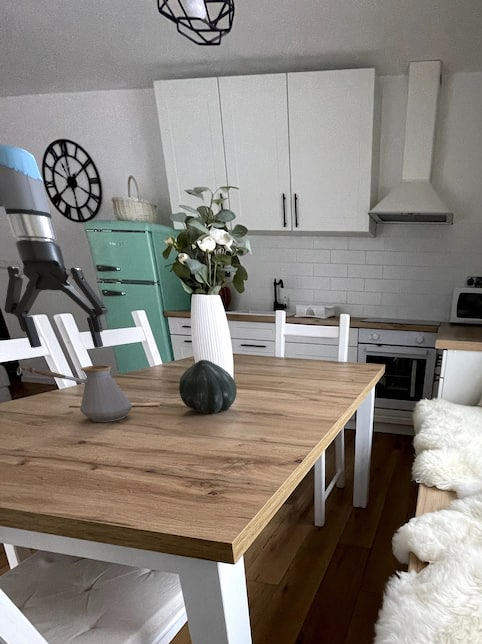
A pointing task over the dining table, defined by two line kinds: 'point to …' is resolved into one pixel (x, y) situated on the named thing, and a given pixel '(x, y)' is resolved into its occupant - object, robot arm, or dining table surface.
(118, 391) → the coffee pot
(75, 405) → the oak strip
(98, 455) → the dining table surface
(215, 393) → the squash
